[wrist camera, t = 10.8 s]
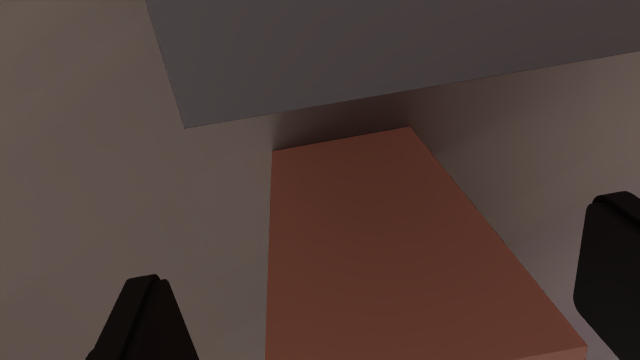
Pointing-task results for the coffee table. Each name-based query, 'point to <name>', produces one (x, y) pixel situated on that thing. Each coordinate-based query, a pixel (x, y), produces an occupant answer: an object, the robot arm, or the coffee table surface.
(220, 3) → the domino
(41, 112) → the coffee table surface
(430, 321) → the domino
